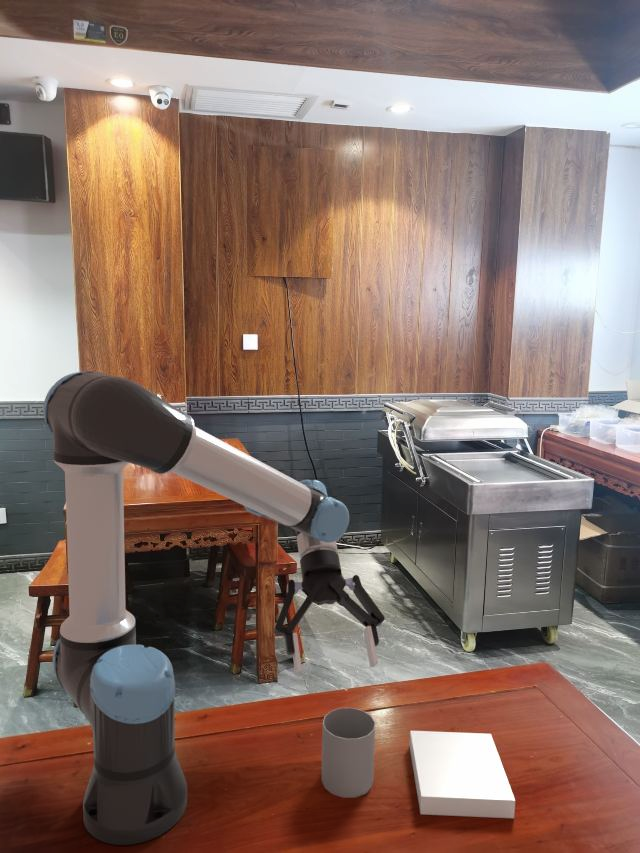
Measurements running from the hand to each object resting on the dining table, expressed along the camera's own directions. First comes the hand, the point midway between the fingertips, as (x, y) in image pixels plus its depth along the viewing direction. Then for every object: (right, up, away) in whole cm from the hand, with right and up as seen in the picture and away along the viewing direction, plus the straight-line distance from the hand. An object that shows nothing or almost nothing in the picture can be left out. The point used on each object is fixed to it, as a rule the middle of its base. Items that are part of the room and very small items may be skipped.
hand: (336, 669), depth 112 cm
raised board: (+20, -15, -7) cm, 26 cm away
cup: (+2, -15, -7) cm, 17 cm away
